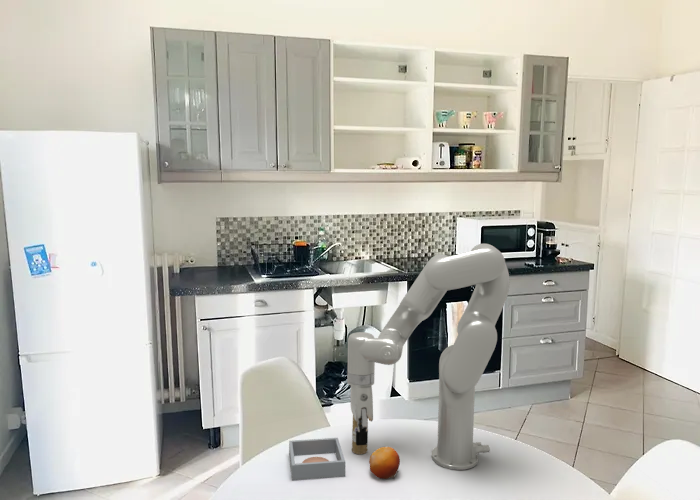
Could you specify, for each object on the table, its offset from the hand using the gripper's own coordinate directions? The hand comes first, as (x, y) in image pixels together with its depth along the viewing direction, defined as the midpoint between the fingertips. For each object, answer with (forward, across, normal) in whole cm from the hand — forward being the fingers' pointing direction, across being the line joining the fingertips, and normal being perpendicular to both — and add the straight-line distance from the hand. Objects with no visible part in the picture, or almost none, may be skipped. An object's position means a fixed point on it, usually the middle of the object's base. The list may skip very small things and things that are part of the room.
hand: (359, 439), depth 147 cm
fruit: (+4, -13, -4) cm, 14 cm away
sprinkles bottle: (+4, 0, 0) cm, 4 cm away
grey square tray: (+3, -6, +13) cm, 15 cm away
